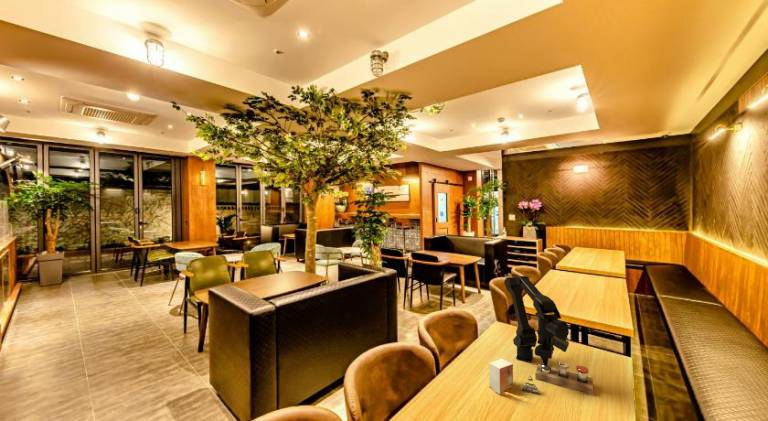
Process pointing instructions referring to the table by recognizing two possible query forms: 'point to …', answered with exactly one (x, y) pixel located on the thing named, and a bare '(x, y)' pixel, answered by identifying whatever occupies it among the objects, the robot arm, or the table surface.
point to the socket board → (565, 380)
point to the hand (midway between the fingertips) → (545, 365)
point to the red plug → (582, 373)
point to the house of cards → (530, 387)
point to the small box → (500, 375)
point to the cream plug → (563, 369)
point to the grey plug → (546, 368)
